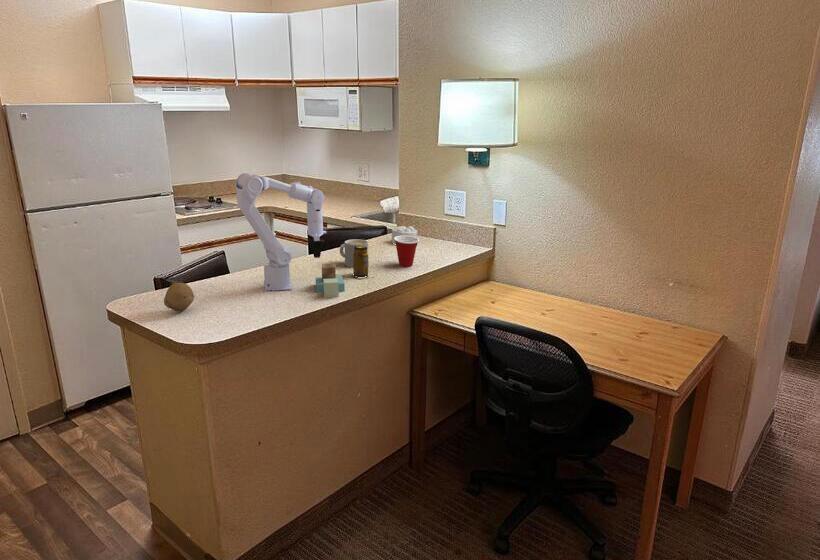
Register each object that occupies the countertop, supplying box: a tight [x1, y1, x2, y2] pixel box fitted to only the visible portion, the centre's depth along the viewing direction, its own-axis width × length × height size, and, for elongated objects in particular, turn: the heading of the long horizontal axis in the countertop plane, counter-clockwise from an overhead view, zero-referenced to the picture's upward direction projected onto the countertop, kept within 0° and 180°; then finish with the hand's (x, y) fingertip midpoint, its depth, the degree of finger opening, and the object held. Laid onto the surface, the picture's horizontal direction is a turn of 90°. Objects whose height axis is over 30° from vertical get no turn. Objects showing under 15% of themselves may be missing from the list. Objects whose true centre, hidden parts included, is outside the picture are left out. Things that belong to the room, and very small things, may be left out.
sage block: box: [323, 278, 340, 298], centre depth 208 cm, size 5×5×6 cm
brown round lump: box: [163, 282, 195, 312], centre depth 189 cm, size 9×9×10 cm
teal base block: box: [315, 275, 346, 293], centre depth 217 cm, size 10×10×4 cm
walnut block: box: [321, 263, 337, 282], centre depth 216 cm, size 5×5×6 cm
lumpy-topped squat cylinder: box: [391, 225, 418, 244], centre depth 283 cm, size 10×13×9 cm
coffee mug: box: [339, 238, 369, 268], centre depth 248 cm, size 13×10×10 cm
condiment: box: [349, 245, 375, 280], centre depth 231 cm, size 7×8×12 cm
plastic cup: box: [394, 236, 420, 268], centre depth 246 cm, size 11×11×12 cm
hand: (316, 254), depth 222 cm, fingers open, 7 cm apart
